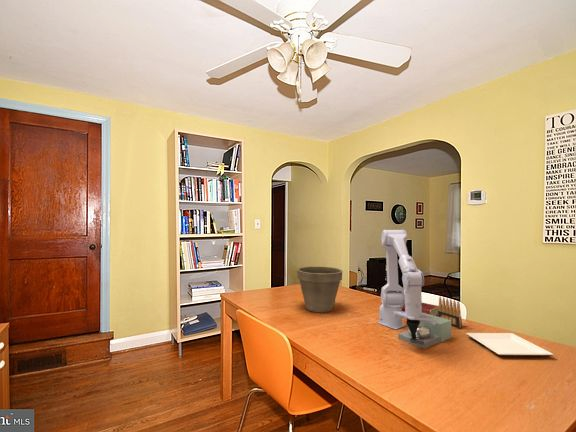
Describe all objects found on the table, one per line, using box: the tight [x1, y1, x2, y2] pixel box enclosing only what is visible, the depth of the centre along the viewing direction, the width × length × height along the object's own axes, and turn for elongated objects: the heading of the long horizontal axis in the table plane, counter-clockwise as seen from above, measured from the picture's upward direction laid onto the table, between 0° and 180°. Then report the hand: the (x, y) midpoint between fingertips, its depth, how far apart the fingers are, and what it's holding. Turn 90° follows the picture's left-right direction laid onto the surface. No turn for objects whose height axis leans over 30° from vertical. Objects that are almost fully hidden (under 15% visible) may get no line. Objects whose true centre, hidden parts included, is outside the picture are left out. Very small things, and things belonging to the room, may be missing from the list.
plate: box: [465, 332, 555, 357], centre depth 105 cm, size 19×19×2 cm
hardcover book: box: [402, 302, 439, 316], centre depth 150 cm, size 12×21×4 cm, turn 40°
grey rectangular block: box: [397, 313, 453, 350], centre depth 114 cm, size 12×19×7 cm, turn 124°
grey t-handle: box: [407, 323, 430, 345], centre depth 108 cm, size 16×8×4 cm, turn 152°
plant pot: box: [296, 266, 343, 313], centre depth 155 cm, size 25×25×22 cm
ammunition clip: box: [437, 296, 463, 330], centre depth 129 cm, size 11×2×12 cm, turn 25°
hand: (413, 339), depth 105 cm, fingers closed
